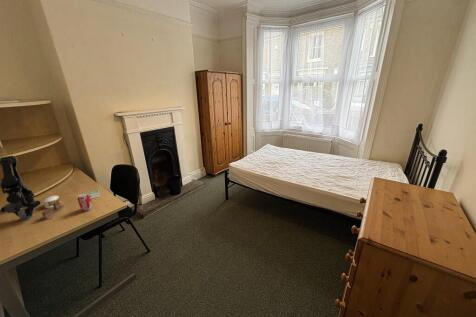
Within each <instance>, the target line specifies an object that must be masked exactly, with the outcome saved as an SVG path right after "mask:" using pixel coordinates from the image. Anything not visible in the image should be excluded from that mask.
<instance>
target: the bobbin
mask: <svg viewBox="0 0 476 317" xmlns="http://www.w3.org/2000/svg"><path fill="white" fill-rule="evenodd" d="M59 197H60V196H59V195H51V196H48V197H45V198H44V199H42V203H44V204H45V205H44V208H45V209H51V208H52V209H53V208H54V207H53V203H54V202H55V201H57V200H59ZM60 204H62V202H61V201H60Z"/></svg>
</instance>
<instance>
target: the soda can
mask: <svg viewBox="0 0 476 317" xmlns="http://www.w3.org/2000/svg"><path fill="white" fill-rule="evenodd" d="M77 202H78V204H79V208H80V210H81V211H82V212H88V211H90V210H92V208H93V207H94V206H93V202H92V199H90V196H89V195H88V194H87V193H86V192H83V193H80V194H78V195H77Z"/></svg>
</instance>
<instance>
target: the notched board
mask: <svg viewBox="0 0 476 317" xmlns="http://www.w3.org/2000/svg"><path fill="white" fill-rule="evenodd" d="M60 202H61V201H60V199H57V200H56V201H55V202H54V203H53V208H52V209H51V208H45V210H43V211H42V212H41V215H42V218H41V219H40V221H47V220H52V219H53V218H54V217H55V216H56V215H57V214H59V212H60V211H61V210H62V209H63V208H64V207H66V205H65V204H64V205H63V204H62V203H60Z"/></svg>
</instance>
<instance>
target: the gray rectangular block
mask: <svg viewBox="0 0 476 317" xmlns="http://www.w3.org/2000/svg"><path fill="white" fill-rule="evenodd" d="M25 209H27V207H22V208H21V209H20V210H19V211H18V212H17V213H18V215H19V216H18V218H19V219H20V221H21V222H22V221H29V220H30V219H31V218H32V217H33V215H32V216H30V215H29V213H28V211H27V210H25Z"/></svg>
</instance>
